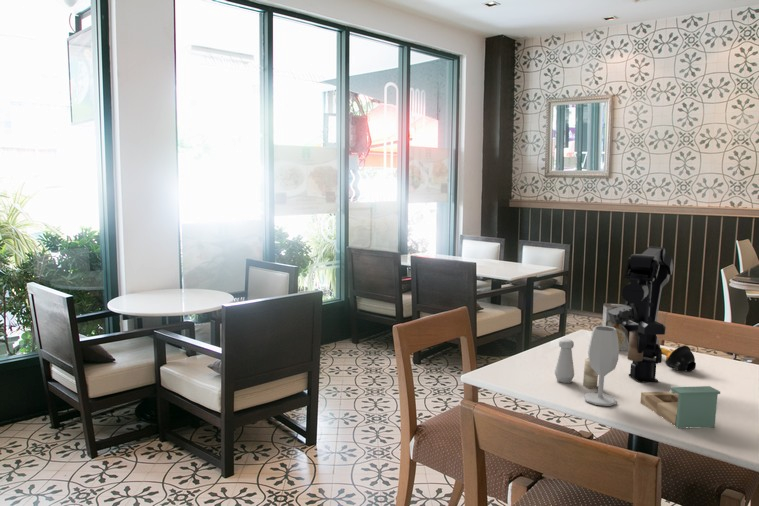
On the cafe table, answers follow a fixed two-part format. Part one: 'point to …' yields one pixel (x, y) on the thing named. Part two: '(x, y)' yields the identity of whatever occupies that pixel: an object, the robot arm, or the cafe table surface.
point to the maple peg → (589, 376)
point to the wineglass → (602, 361)
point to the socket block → (661, 404)
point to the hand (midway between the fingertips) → (635, 350)
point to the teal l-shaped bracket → (696, 406)
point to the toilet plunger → (680, 358)
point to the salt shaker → (565, 362)
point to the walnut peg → (634, 348)
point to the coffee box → (615, 326)
